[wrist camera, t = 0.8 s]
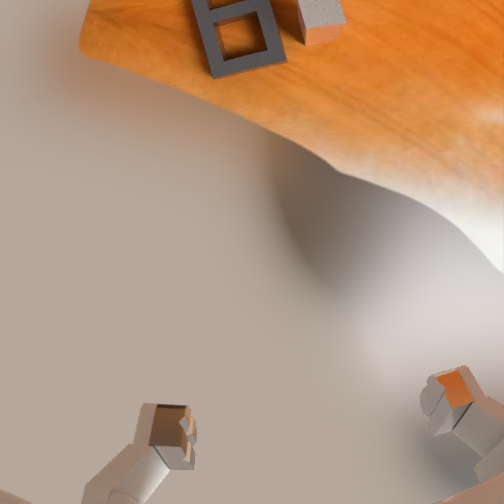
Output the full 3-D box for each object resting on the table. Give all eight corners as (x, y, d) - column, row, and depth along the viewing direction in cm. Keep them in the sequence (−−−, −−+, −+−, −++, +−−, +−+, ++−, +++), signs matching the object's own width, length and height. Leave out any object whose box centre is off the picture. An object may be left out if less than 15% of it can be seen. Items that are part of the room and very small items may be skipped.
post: (298, 20, 35) (295, -6, 23) (326, 16, 34) (335, -12, 22) (305, 45, 37) (306, 28, 25) (333, 41, 36) (346, 23, 24)
